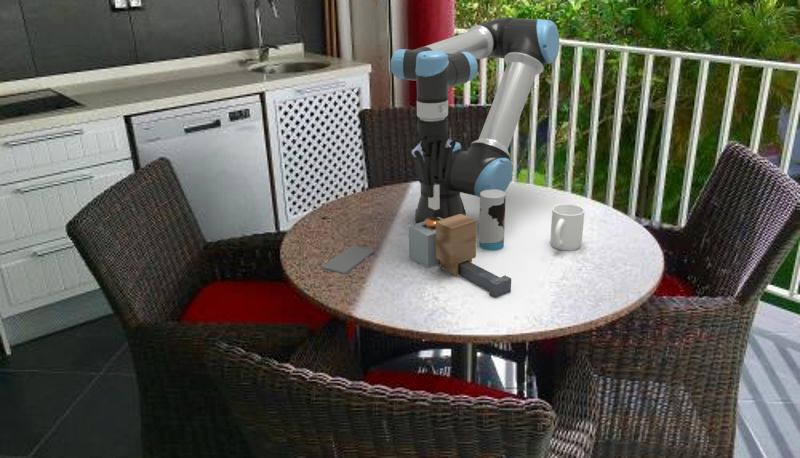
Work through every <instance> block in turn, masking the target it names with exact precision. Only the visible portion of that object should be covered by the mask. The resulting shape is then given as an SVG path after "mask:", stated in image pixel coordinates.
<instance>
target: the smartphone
mask: <svg viewBox="0 0 800 458" xmlns="http://www.w3.org/2000/svg"><path fill="white" fill-rule="evenodd" d="M375 252H376V251H375V250H374V249H373V248H368V247H363V246H359V245H354V244H352V245H350V246H349V247H348V248H346V249H345V250H343V251H342V252H340V253H339V254H337V255H336V256H335V257H334V258H332V259H331V260H328V262H325V264H324V265H322V267H321V268H322V270H325V271H329V272H334V273H337V274H341V275H346V274H348V273H349V272H351V271H352V270H353V269H355V268H356V267H357V266H359V265H361V263H363V262H364V261H366V260H367V259H368V258H369V257H371V256H372V255H374V254H375Z"/></svg>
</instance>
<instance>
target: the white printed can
mask: <svg viewBox="0 0 800 458" xmlns="http://www.w3.org/2000/svg"><path fill="white" fill-rule="evenodd" d="M506 196H507V195H506V191H505V192H504V191H501V190H496V189H489V190H484V191H482V192H481V193H480V198H479V227H478V228H479V231H478V232H479V233H478V237H479V238H478V240H479V241H478V247H479V248H480V249H482V250H484V251H489V252H491V251H499V250H502V249H503V248H504V247H505V228H506V227H505V224H506V198H507V197H506Z"/></svg>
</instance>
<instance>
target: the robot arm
mask: <svg viewBox="0 0 800 458" xmlns="http://www.w3.org/2000/svg"><path fill="white" fill-rule="evenodd" d="M559 51H560V33H559V30H558V28H557V25H556V24H555V23H554V22H553V20H550V19H541V18H537V19H534V18H520V17H519V18H518V17H501V18H495V19H493V20H488V21H485V22H482V23H479V24H476V25H472V26H471V27H469V29H468V30H467V31H466V32H463V33H461V34H458V35H455V36H451V37H448V38H446V39H443V40H439V41H437V42H433V43H431V44H428V45H425V46H421V47H418V48H416V49H408V48H404V49H397V50H396V51H395V52H394V53H392V57H391V60H390V70H391V73H392V74H393V76H394V77H395V78H397V79H402V80H404V81H416V116H417V117H418V118H417V121H416V122H417V124H416V125H417V129H416V130H417V134H418V140H417V145H416V146H415V147H414V148H410V150H409V153H410V155H411V157H412V158H413V162H414V167H415V169H416V170H415V171H416V174H417V178H418V181H419V182H418V183H420V196H419V200H418V203H417V208H416V209H415V212H414V221H415V224H417V223H421V222H424V221H425V219H427V218H432V217H434V218H437V217H440V218H442V219H445V218H448V217H452V216H455V215H458V214H463V215H465V216H467V211H466V209H465V205H464V202H463V199H462V196H461V193H462V194H466V195H469V196H473V197H474V196H475V197H477V198H479V199H480V193H481V192H482V191H484V190H489V189H496V190H501V191H504V192H505V193H506V191H507V190H508V188H509V186H510V184H511V182H512V178H513V172H514V166H513V163H512V161H510V160H511V155H510V152H509V147H510V145H511V143H512V138H513V137H514V134H515V132H516V128H517V126H518V123H519V120H520V117H521V114H522V112H523V109H524V108H525V104H526V102H527V99H528V96H529V94H530V91H531V88H532V86H533V83H534V80H535V78H536V76H537V75H539V74H540V75H541V73H543V71H544V70H545V69H544V68H545V66H546V64H552V63H554V62H555V61H557V58H558V55H559ZM486 58H496V59H503V60H504V62H505V64H506V66H505V70H504V72H503V75H502V78H501V80H500V83H499V86H498V87H497V91H496V93H495V95H494V99H493V101H492V103H491V106H490V109H489V111H488V113H487V116H486V119H485V121H484V125H483V128H482V130H481V132H480V135H479V137H478V139H476V140H474V141H472V142H471V143H470V146H469V148H468V150H467V151H466V150H462V145H461V143H460V142H458V141H454V140H451V139H449V135H448V132H449V118H448V116H449V89H451V88H453V87H457V86H460V85H464V84H466V83H468V82H470V81H472V80H473V79H475V77H476V76H477V75H478V61H477V60H483V59H486Z"/></svg>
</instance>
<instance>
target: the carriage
mask: <svg viewBox="0 0 800 458" xmlns="http://www.w3.org/2000/svg"><path fill="white" fill-rule="evenodd" d="M477 223H478V222H477V220H476V219H474V218H471V217H469V216H467V215H466V216H465V215H463V214H458V215H455V216H452V217H448V218H445V219H442V220H439V221H436V258H437V259H439V260H440V265H439V266H440V268H441V269H443V270H445V271H447V272H449V273H451V274H452V275H454V276H459V275H458V264H459V263H462V262H465V261H469V262H471V263H473V262H472V261H473V259H475V258H477V227H478V226H477V225H478V224H477Z"/></svg>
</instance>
